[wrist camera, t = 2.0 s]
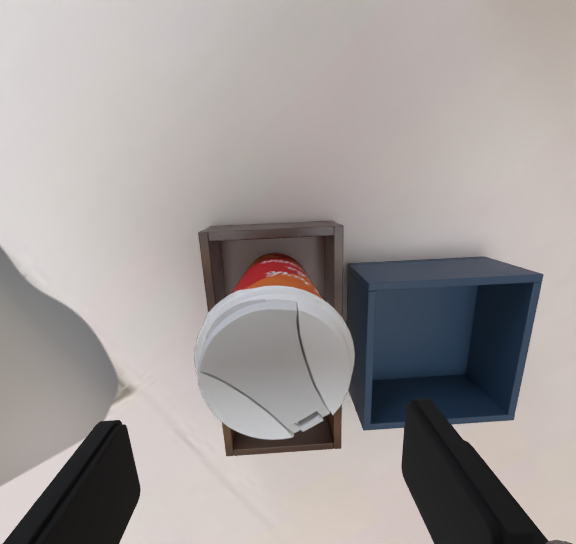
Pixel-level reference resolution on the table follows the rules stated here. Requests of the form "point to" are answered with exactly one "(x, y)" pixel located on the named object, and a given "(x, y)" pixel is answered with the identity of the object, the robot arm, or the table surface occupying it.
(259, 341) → the paper cup
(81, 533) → the robot arm
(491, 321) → the blue square tray
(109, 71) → the table surface
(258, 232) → the wooden divided tray
